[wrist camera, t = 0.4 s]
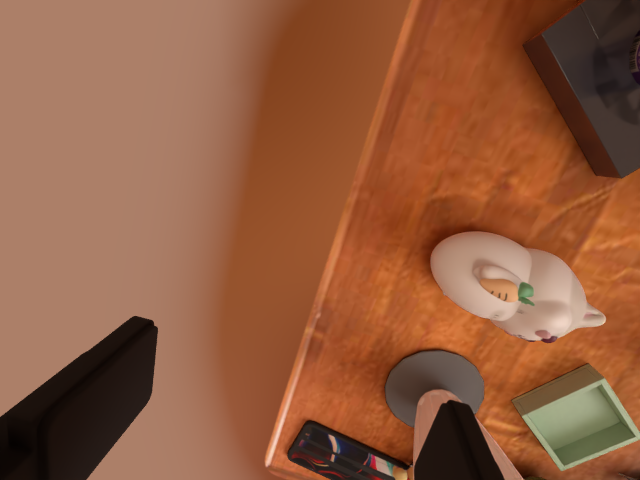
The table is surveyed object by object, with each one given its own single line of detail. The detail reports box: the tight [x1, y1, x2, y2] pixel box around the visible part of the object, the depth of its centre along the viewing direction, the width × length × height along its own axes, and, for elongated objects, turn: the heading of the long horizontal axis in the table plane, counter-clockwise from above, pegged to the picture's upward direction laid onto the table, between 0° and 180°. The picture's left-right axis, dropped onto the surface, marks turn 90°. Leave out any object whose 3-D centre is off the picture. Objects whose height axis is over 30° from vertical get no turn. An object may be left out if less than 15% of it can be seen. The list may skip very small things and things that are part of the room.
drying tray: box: [511, 363, 640, 471], centre depth 36 cm, size 9×9×2 cm
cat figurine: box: [430, 231, 606, 343], centre depth 30 cm, size 10×8×15 cm
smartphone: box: [287, 421, 409, 480], centre depth 42 cm, size 7×1×15 cm
